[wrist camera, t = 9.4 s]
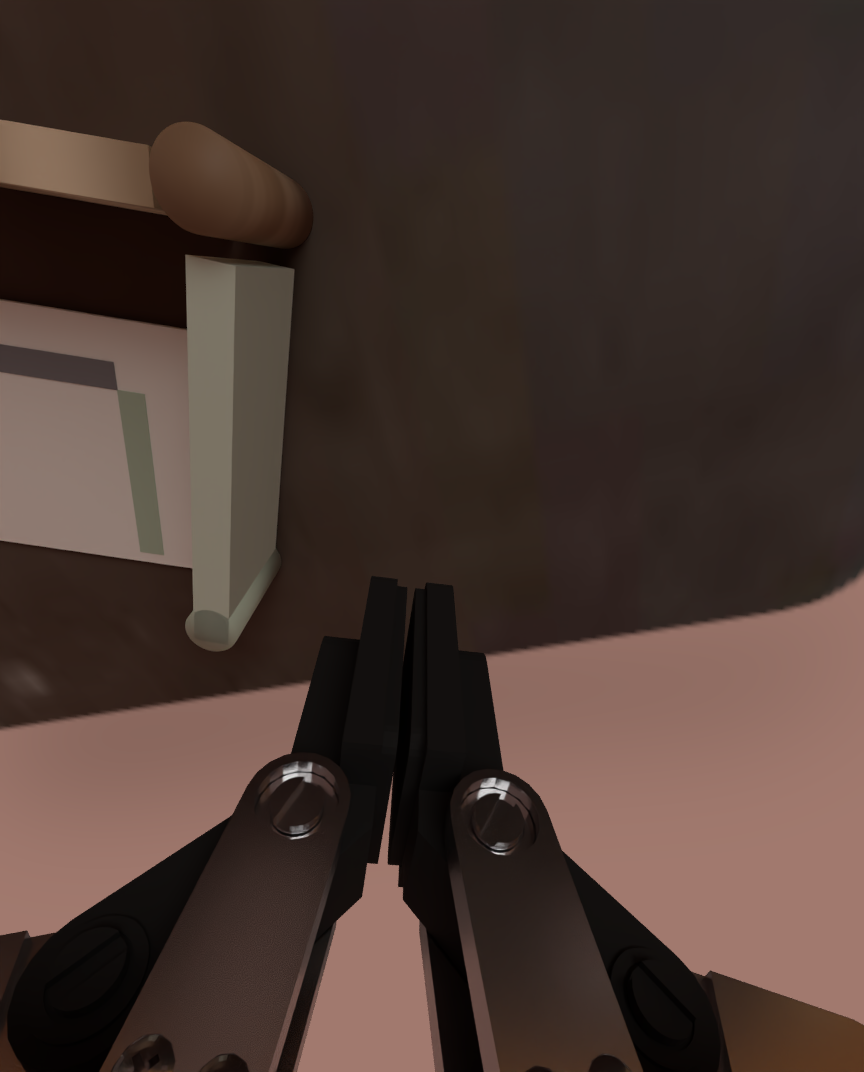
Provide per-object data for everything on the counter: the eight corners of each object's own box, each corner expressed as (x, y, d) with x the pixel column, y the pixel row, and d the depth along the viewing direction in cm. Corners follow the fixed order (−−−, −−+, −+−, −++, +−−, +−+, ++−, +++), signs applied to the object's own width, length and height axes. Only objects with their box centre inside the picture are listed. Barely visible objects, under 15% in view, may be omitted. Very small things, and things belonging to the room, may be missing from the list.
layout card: (-59, 527, 22) (-67, 531, 22) (-149, 274, 17) (-160, 274, 17) (213, 567, 22) (210, 571, 22) (197, 330, 18) (192, 331, 17)
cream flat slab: (249, 258, 16) (172, 251, 12) (303, 271, 16) (247, 268, 12) (239, 572, 22) (185, 646, 18) (280, 579, 22) (236, 655, 18)
